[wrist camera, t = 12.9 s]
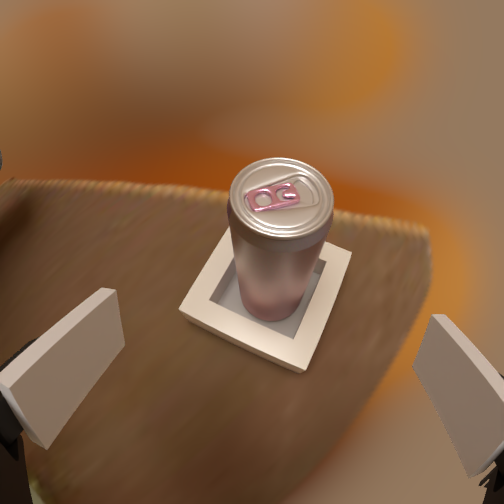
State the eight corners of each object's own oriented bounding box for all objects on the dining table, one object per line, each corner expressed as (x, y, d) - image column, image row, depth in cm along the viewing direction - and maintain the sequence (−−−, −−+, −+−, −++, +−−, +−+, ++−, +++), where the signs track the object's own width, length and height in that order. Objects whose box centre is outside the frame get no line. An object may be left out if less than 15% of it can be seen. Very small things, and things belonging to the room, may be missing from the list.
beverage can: (233, 275, 29) (214, 166, 16) (289, 259, 30) (310, 147, 17) (250, 330, 26) (242, 255, 13) (309, 312, 27) (357, 224, 14)
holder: (188, 321, 28) (178, 309, 24) (242, 229, 33) (240, 208, 29) (298, 373, 25) (305, 370, 21) (341, 270, 30) (351, 252, 27)
